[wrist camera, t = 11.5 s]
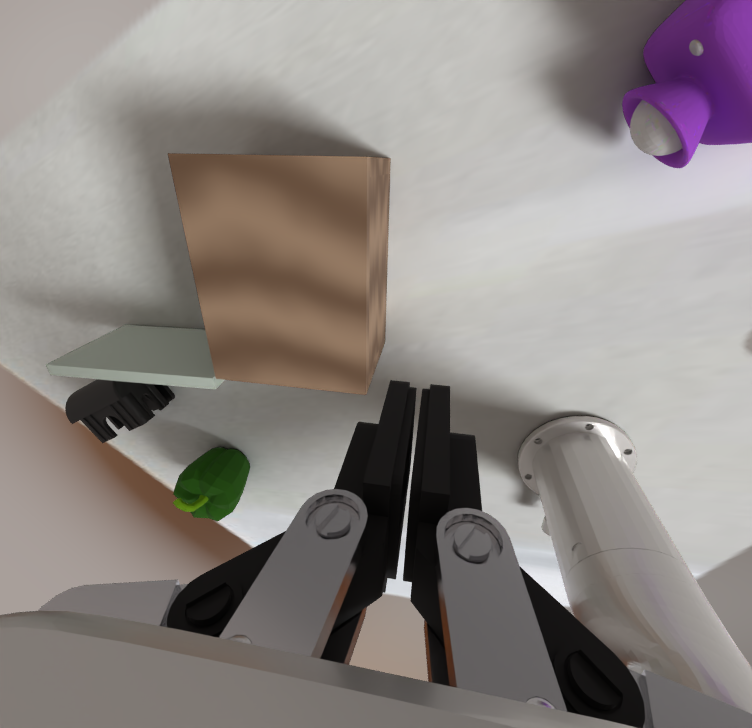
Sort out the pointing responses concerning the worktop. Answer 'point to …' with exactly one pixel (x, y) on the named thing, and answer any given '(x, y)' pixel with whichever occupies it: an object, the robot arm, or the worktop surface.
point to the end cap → (116, 405)
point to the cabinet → (289, 264)
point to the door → (143, 358)
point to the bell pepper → (212, 484)
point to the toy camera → (695, 82)
